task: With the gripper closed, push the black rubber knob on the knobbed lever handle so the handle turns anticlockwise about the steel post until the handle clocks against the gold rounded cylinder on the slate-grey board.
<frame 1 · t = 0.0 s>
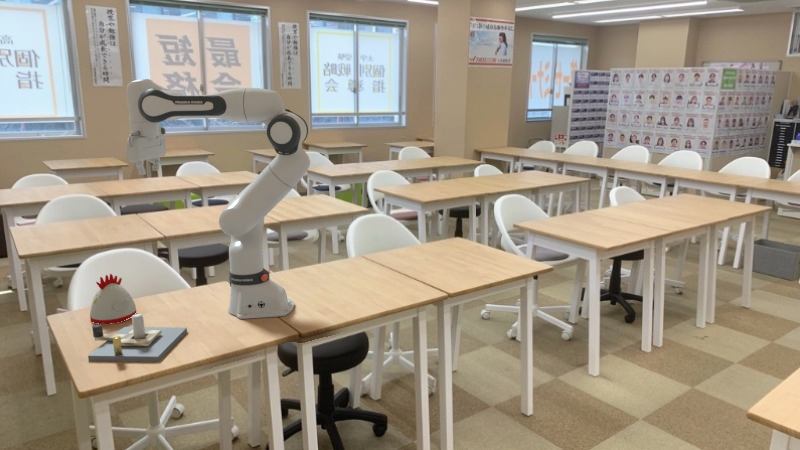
hand: (149, 172, 184), 48 cm above the table, fingers open, 8 cm apart
board: (140, 345, 165), on the table
kitchen timer: (114, 317, 187), on the table
gold rounded cylinder: (119, 359, 157), resting on board
knobbed lever handle: (123, 332, 164), point 4 cm above the table, hinge at 0.0°
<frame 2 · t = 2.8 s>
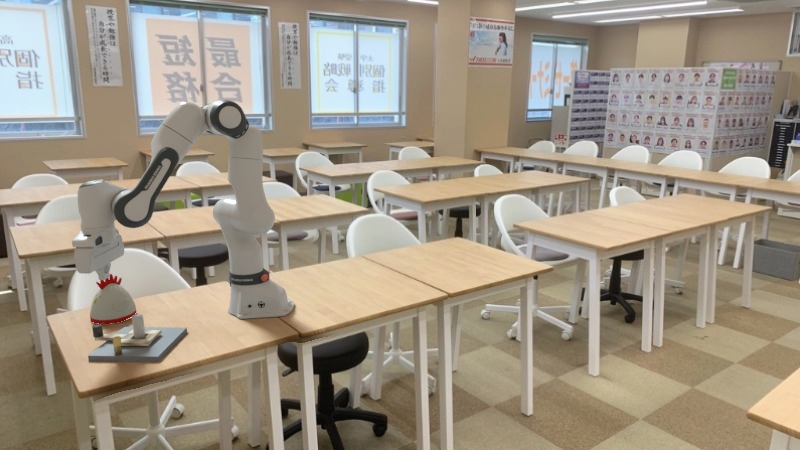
hand: (104, 278, 168), 19 cm above the table, fingers closed
nothing on the table moved.
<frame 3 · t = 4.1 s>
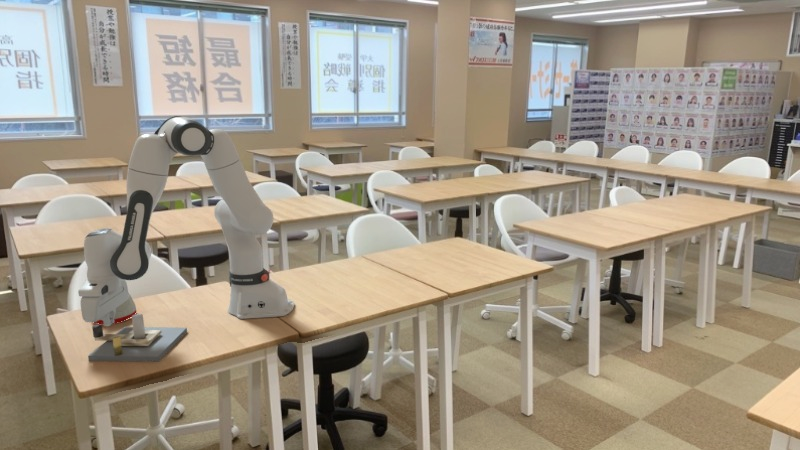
hand: (109, 324, 171), 4 cm above the table, fingers closed
nothing on the table moved.
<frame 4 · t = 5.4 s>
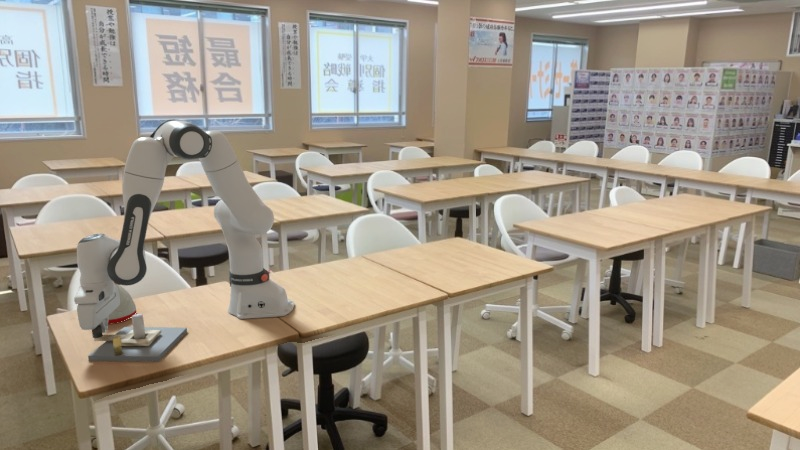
hand: (103, 331, 167), 3 cm above the table, fingers closed
knobbed lever handle: (123, 333, 164), point 4 cm above the table, hinge at 1.8°, touching gripper
everything else where it was.
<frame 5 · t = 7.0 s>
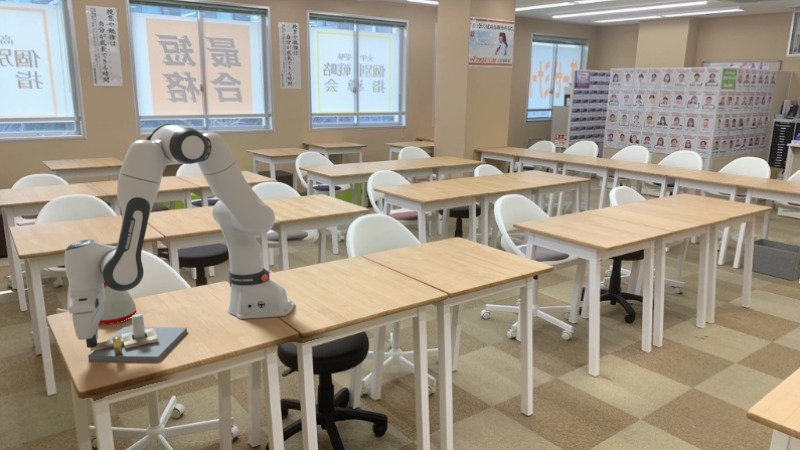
hand: (94, 341, 161), 3 cm above the table, fingers closed
knobbed lever handle: (122, 336, 162), point 4 cm above the table, hinge at 32.8°, touching gripper
everything else where it was.
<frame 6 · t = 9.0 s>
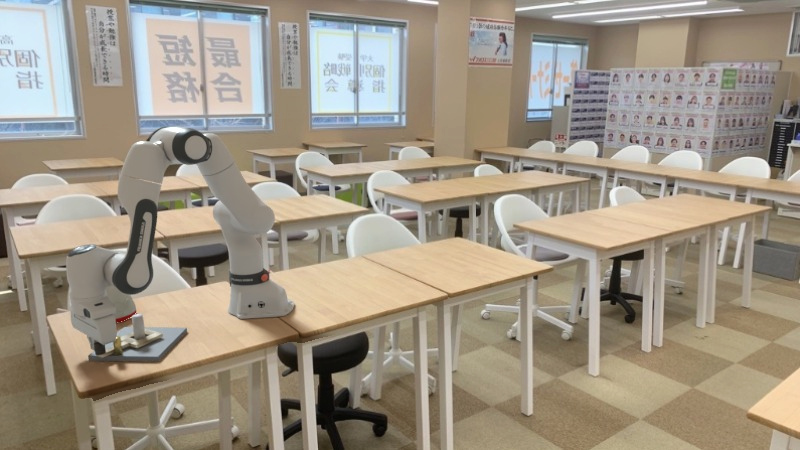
hand: (95, 349, 156), 3 cm above the table, fingers closed
knobbed lever handle: (125, 339, 160), point 4 cm above the table, hinge at 63.9°, touching gold rounded cylinder, gripper
everything else where it was.
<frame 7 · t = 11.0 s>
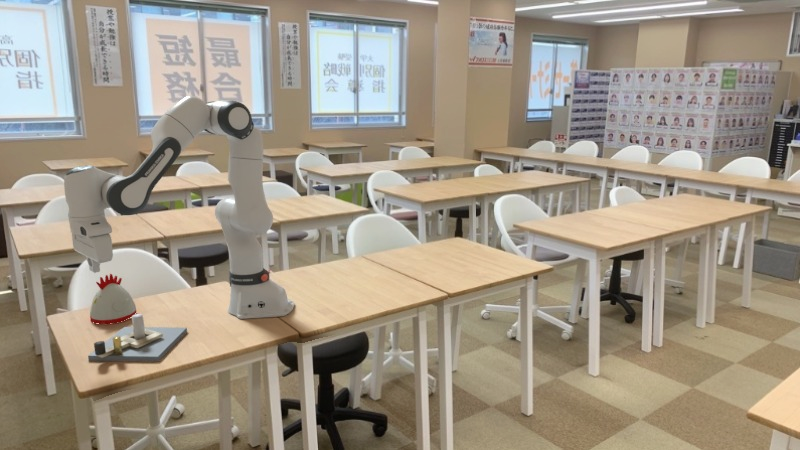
hand: (95, 271, 158), 24 cm above the table, fingers closed
knobbed lever handle: (125, 339, 160), point 4 cm above the table, hinge at 63.9°, touching gold rounded cylinder
everything else where it was.
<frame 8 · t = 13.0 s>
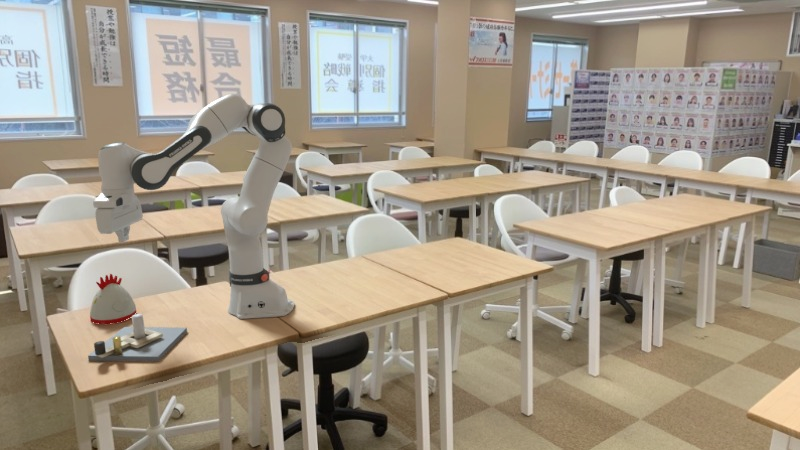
hand: (123, 241, 170), 29 cm above the table, fingers closed
nothing on the table moved.
at the end: knobbed lever handle at +64° (first picture: +0°); knobbed lever handle touching gold rounded cylinder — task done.
